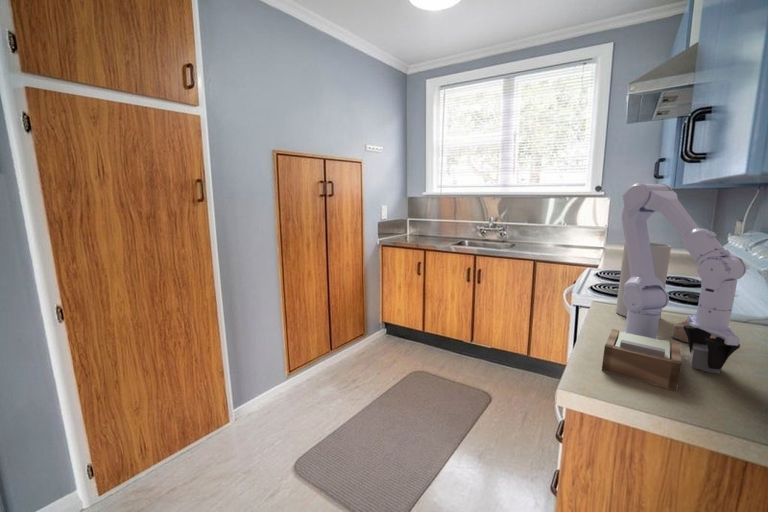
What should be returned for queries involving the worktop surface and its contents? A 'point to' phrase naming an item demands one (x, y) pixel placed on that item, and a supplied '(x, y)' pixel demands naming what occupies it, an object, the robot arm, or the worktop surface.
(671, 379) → the frame
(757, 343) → the worktop surface
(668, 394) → the worktop surface
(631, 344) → the trapdoor
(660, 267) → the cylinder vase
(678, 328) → the brick
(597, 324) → the worktop surface
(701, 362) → the grey cube
